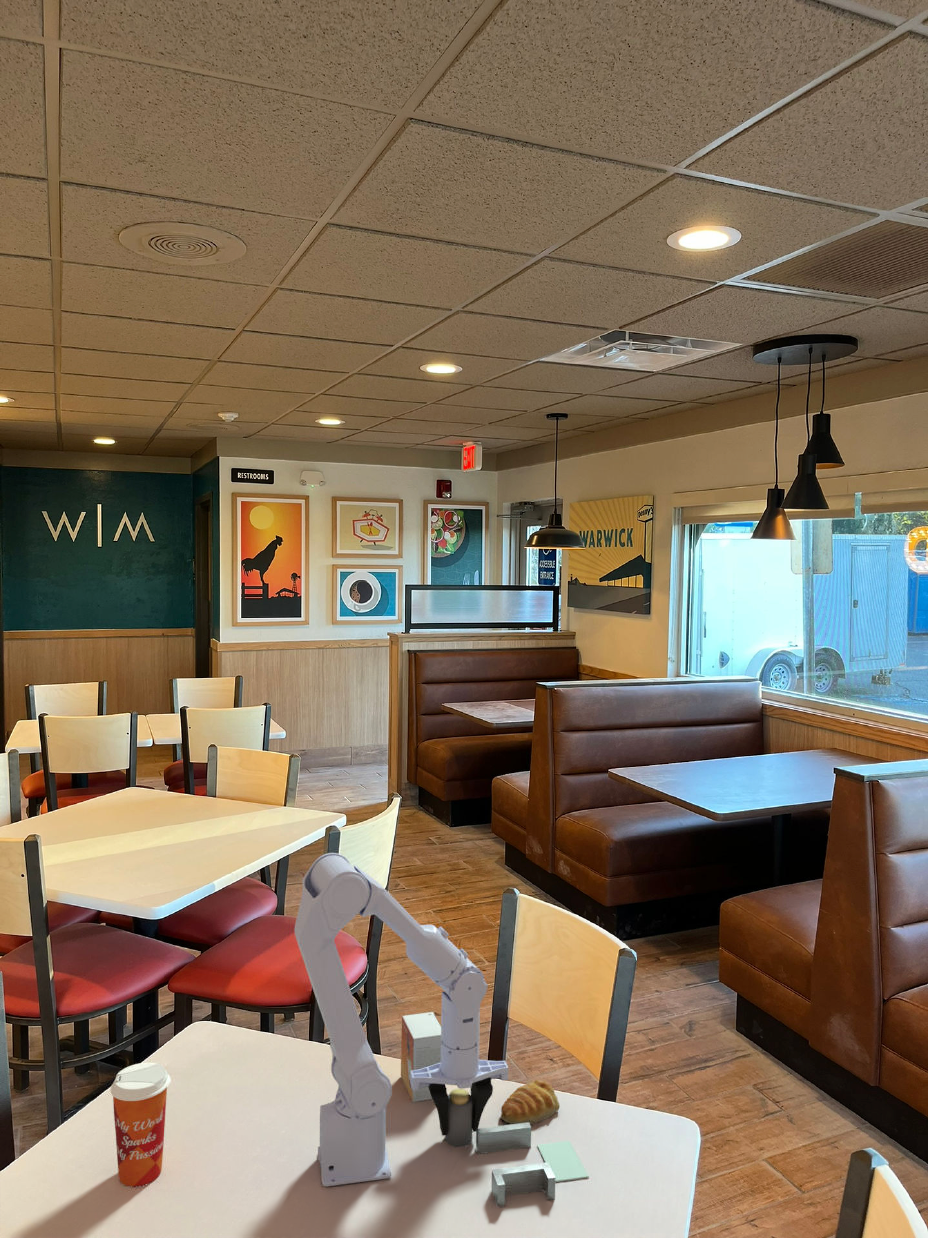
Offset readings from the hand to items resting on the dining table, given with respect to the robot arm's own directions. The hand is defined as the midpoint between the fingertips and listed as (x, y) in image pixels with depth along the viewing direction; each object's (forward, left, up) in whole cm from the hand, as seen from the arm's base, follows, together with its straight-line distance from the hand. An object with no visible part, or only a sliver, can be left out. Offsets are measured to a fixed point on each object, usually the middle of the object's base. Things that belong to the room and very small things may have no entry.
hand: (458, 1129), depth 132 cm
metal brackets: (+6, -8, -1) cm, 10 cm away
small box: (-3, +14, -2) cm, 15 cm away
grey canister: (0, 0, -1) cm, 1 cm away
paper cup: (-45, +1, -2) cm, 45 cm away
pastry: (+12, +4, -2) cm, 13 cm away
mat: (+13, -8, -1) cm, 16 cm away
